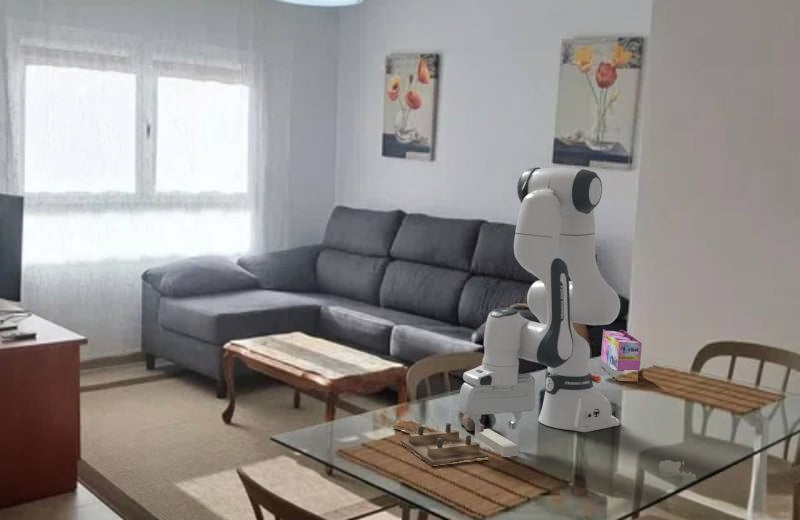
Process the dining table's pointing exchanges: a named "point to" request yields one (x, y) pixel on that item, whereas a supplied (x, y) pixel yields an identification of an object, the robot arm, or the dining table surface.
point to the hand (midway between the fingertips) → (495, 430)
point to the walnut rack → (443, 446)
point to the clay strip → (497, 442)
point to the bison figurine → (485, 420)
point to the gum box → (621, 350)
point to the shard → (407, 425)
